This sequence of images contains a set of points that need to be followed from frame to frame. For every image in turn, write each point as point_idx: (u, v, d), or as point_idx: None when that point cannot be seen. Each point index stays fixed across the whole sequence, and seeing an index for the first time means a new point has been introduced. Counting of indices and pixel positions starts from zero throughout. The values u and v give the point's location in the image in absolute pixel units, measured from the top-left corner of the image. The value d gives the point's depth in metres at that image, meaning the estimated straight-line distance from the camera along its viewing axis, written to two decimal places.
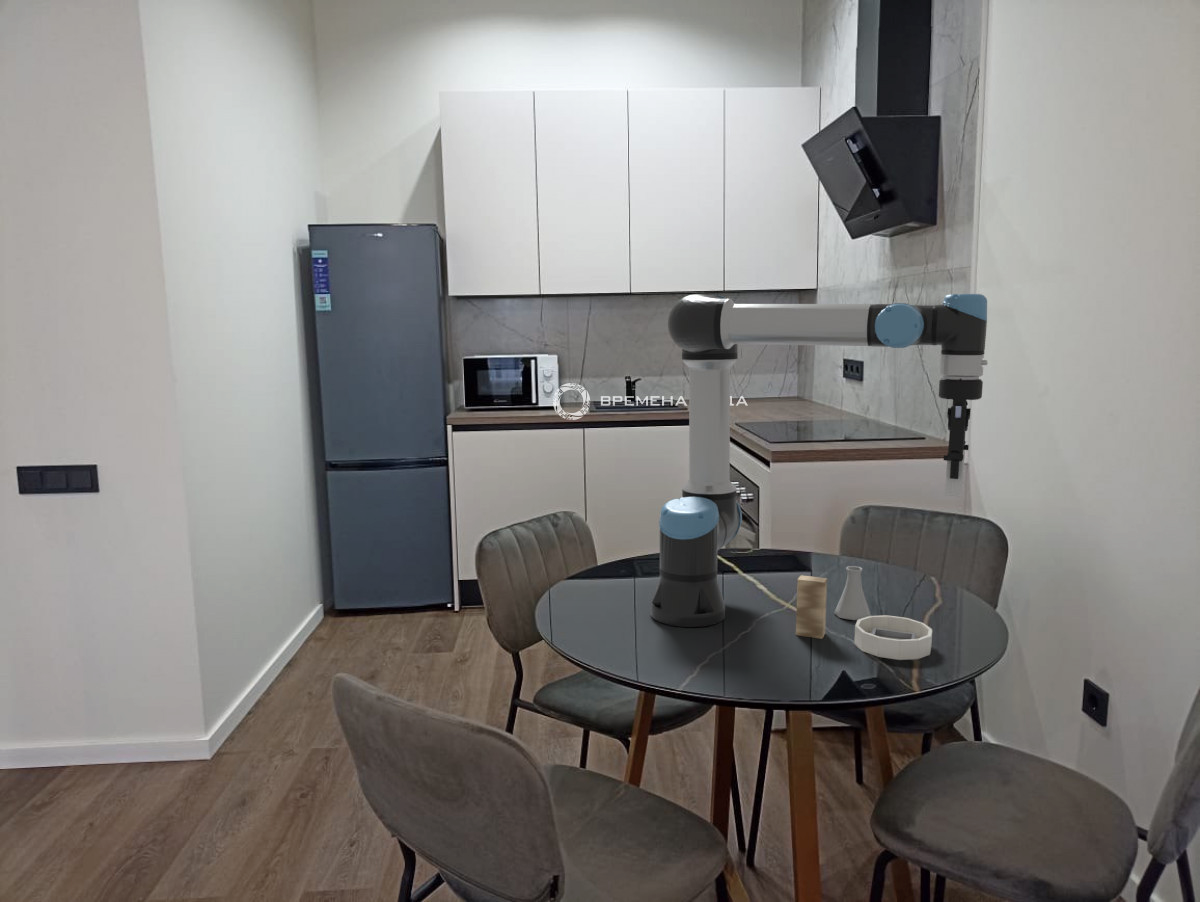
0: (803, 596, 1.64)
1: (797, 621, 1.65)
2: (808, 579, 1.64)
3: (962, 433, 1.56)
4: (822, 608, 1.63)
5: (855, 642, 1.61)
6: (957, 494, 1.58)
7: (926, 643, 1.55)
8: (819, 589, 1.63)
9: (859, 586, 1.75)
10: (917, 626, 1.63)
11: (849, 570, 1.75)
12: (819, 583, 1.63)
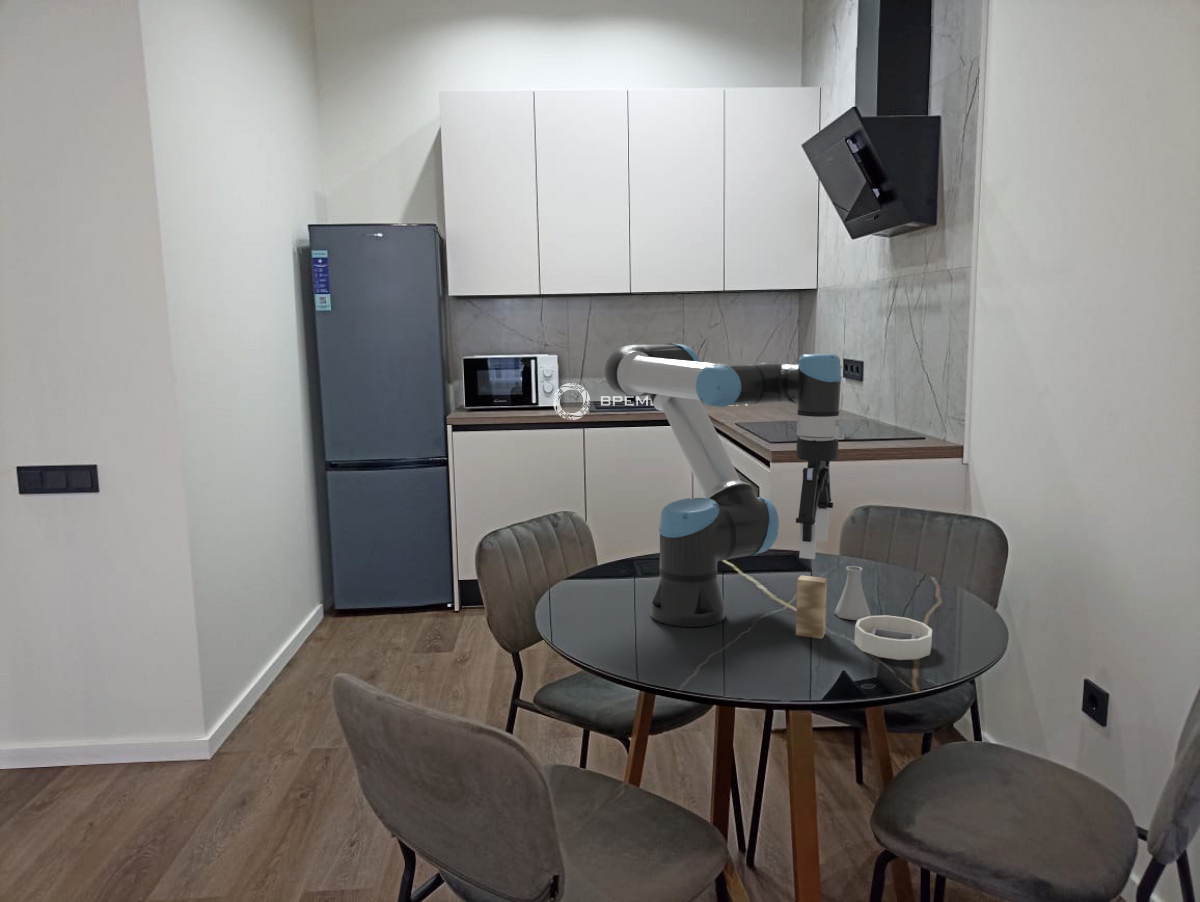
0: (803, 596, 1.64)
1: (797, 621, 1.65)
2: (808, 579, 1.64)
3: (813, 496, 1.54)
4: (822, 608, 1.63)
5: (855, 642, 1.61)
6: (811, 557, 1.57)
7: (926, 643, 1.55)
8: (819, 589, 1.63)
9: (859, 586, 1.75)
10: (917, 626, 1.63)
11: (849, 570, 1.75)
12: (819, 583, 1.63)
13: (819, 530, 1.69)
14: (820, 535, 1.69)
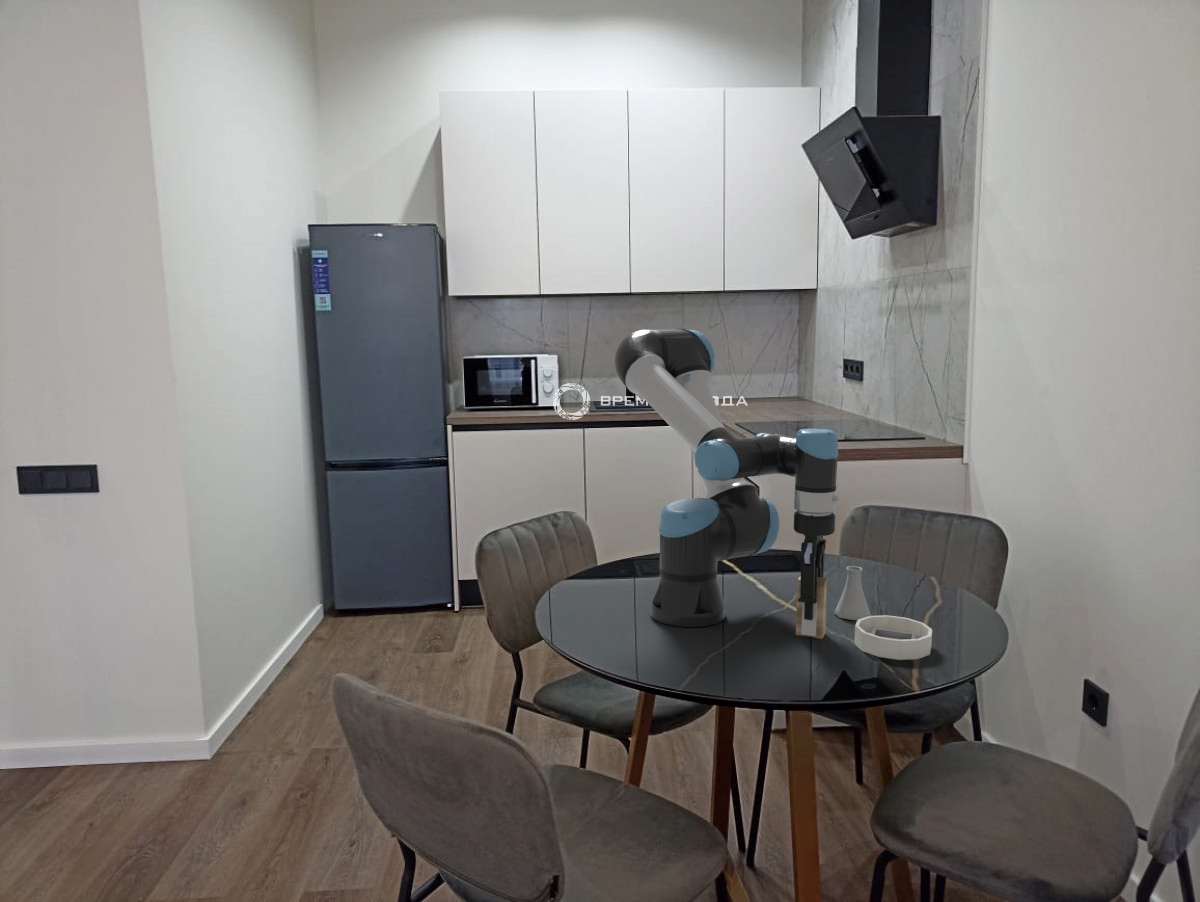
0: None
1: (797, 621, 1.65)
2: None
3: (812, 580, 1.59)
4: (822, 608, 1.63)
5: (855, 642, 1.61)
6: (812, 634, 1.64)
7: (926, 643, 1.55)
8: (819, 589, 1.63)
9: (859, 586, 1.75)
10: (917, 626, 1.63)
11: (849, 570, 1.75)
12: (819, 583, 1.63)
13: None
14: None
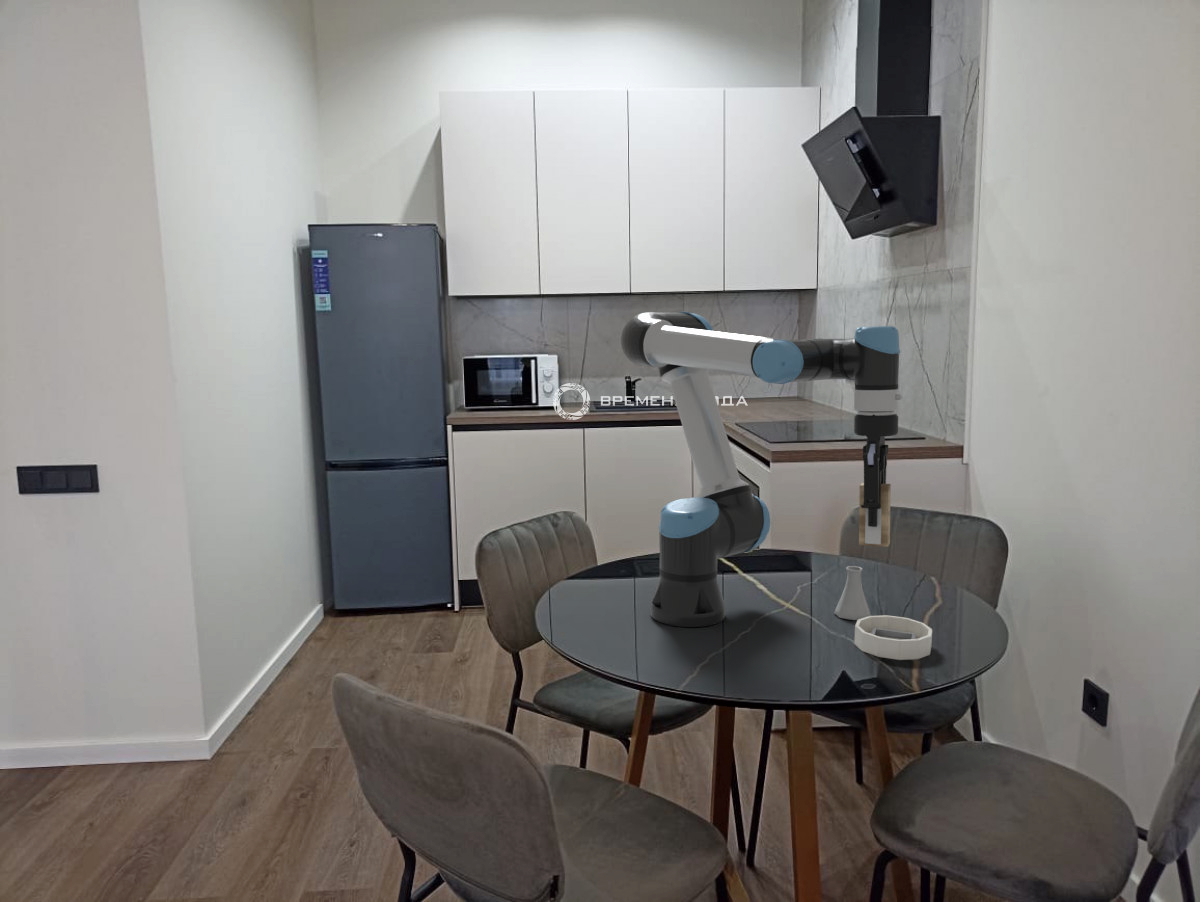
0: None
1: (860, 530, 1.58)
2: None
3: (876, 482, 1.52)
4: (887, 514, 1.55)
5: (855, 642, 1.61)
6: (877, 542, 1.56)
7: (926, 643, 1.55)
8: (883, 494, 1.55)
9: (859, 586, 1.75)
10: (917, 626, 1.63)
11: (849, 570, 1.75)
12: (883, 487, 1.55)
13: None
14: None
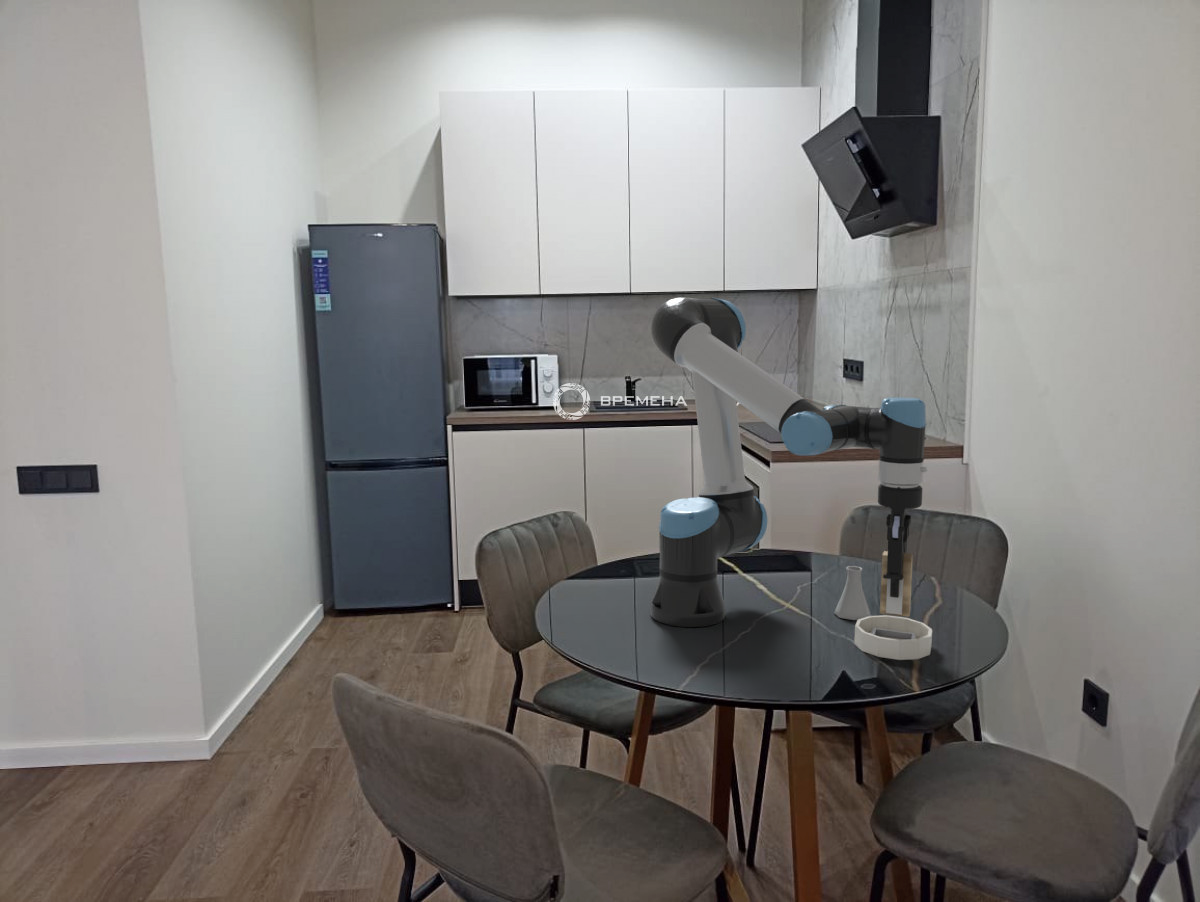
0: None
1: (881, 599, 1.58)
2: None
3: (900, 555, 1.52)
4: (909, 585, 1.56)
5: (855, 642, 1.61)
6: (898, 612, 1.57)
7: (926, 643, 1.55)
8: (906, 565, 1.56)
9: (859, 586, 1.75)
10: (917, 626, 1.63)
11: (849, 570, 1.75)
12: (905, 558, 1.56)
13: None
14: None
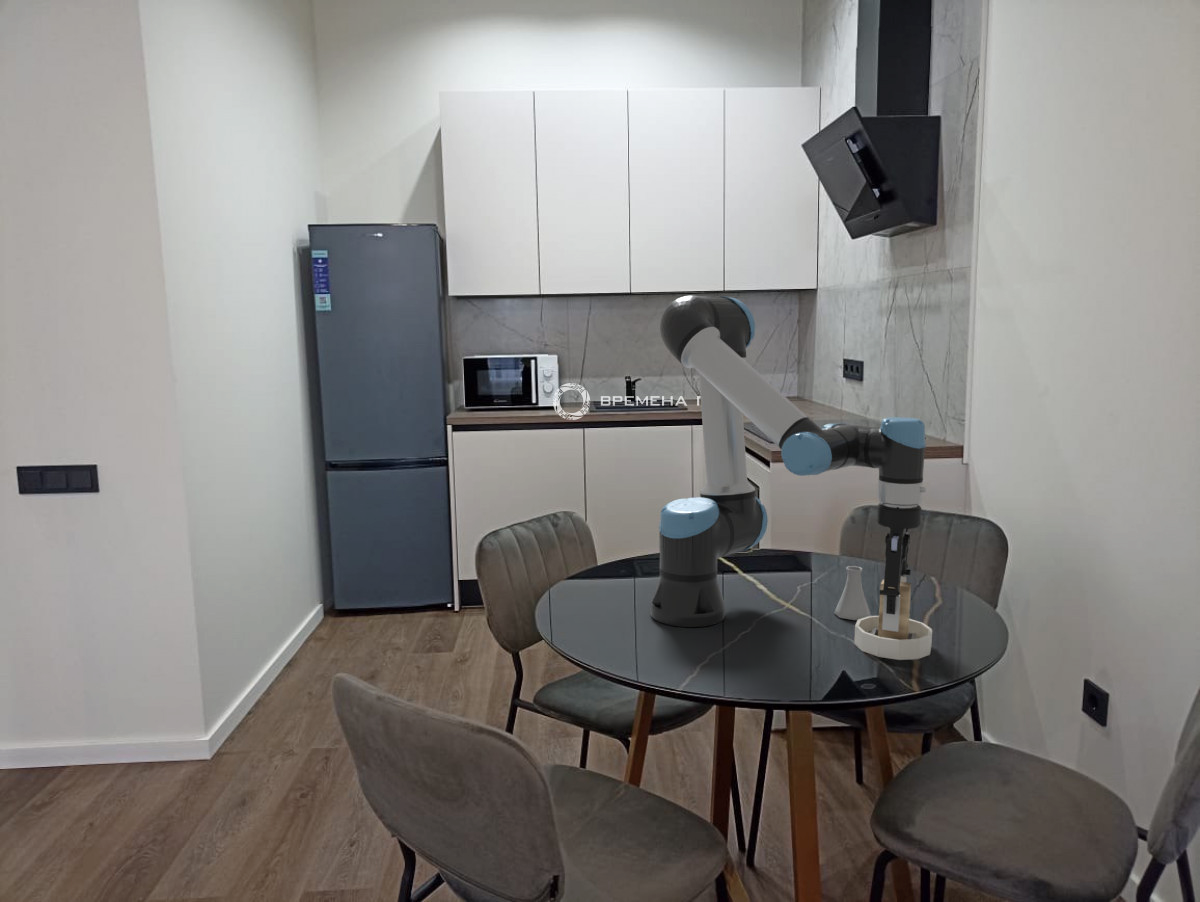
0: None
1: (879, 627, 1.59)
2: None
3: (898, 568, 1.50)
4: (907, 614, 1.57)
5: (855, 642, 1.61)
6: (895, 629, 1.53)
7: (926, 643, 1.55)
8: (904, 594, 1.57)
9: (859, 586, 1.75)
10: (917, 626, 1.63)
11: (849, 570, 1.75)
12: (904, 587, 1.57)
13: None
14: None
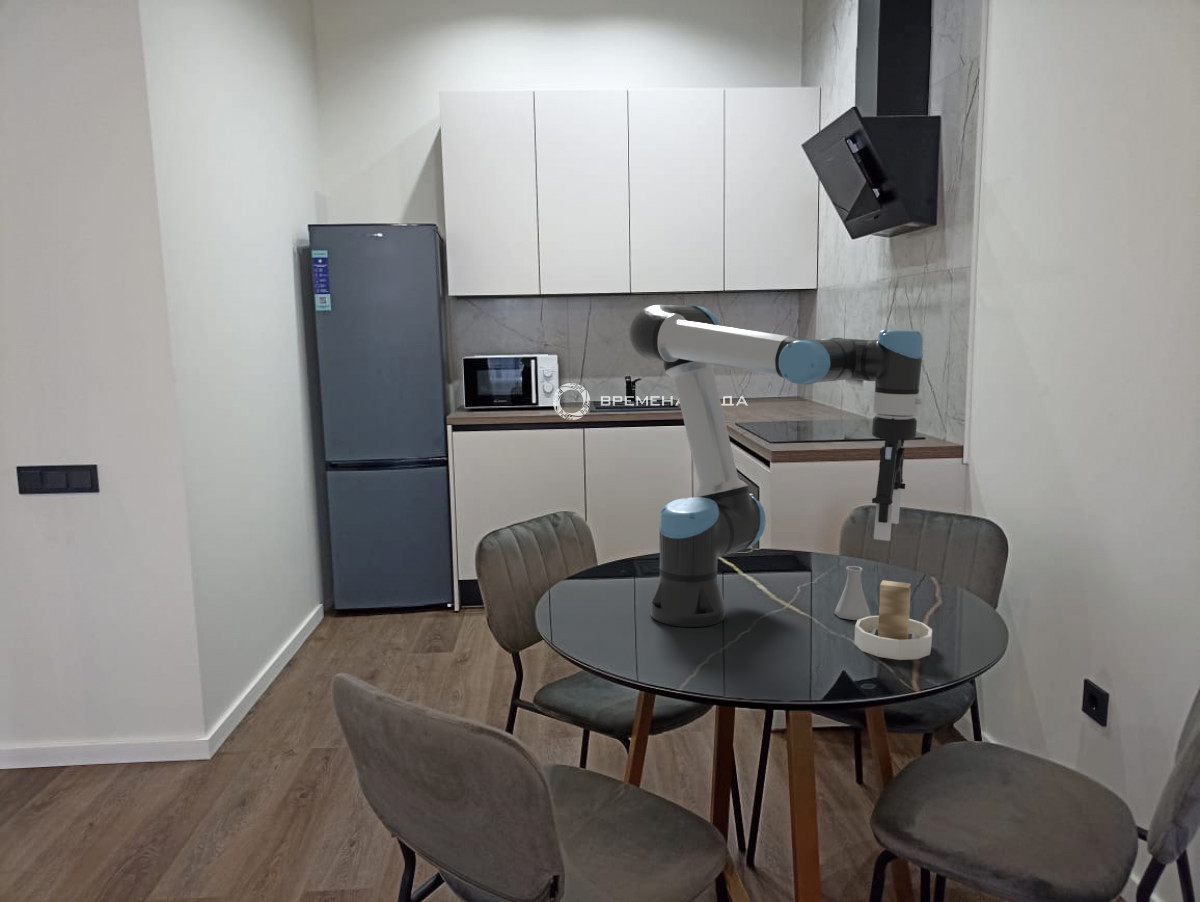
0: (886, 602, 1.58)
1: (879, 628, 1.59)
2: (891, 584, 1.58)
3: (891, 476, 1.50)
4: (906, 615, 1.57)
5: (855, 642, 1.61)
6: (886, 538, 1.53)
7: (926, 643, 1.55)
8: (903, 595, 1.57)
9: (859, 586, 1.75)
10: (917, 626, 1.63)
11: (849, 570, 1.75)
12: (903, 588, 1.56)
13: None
14: None
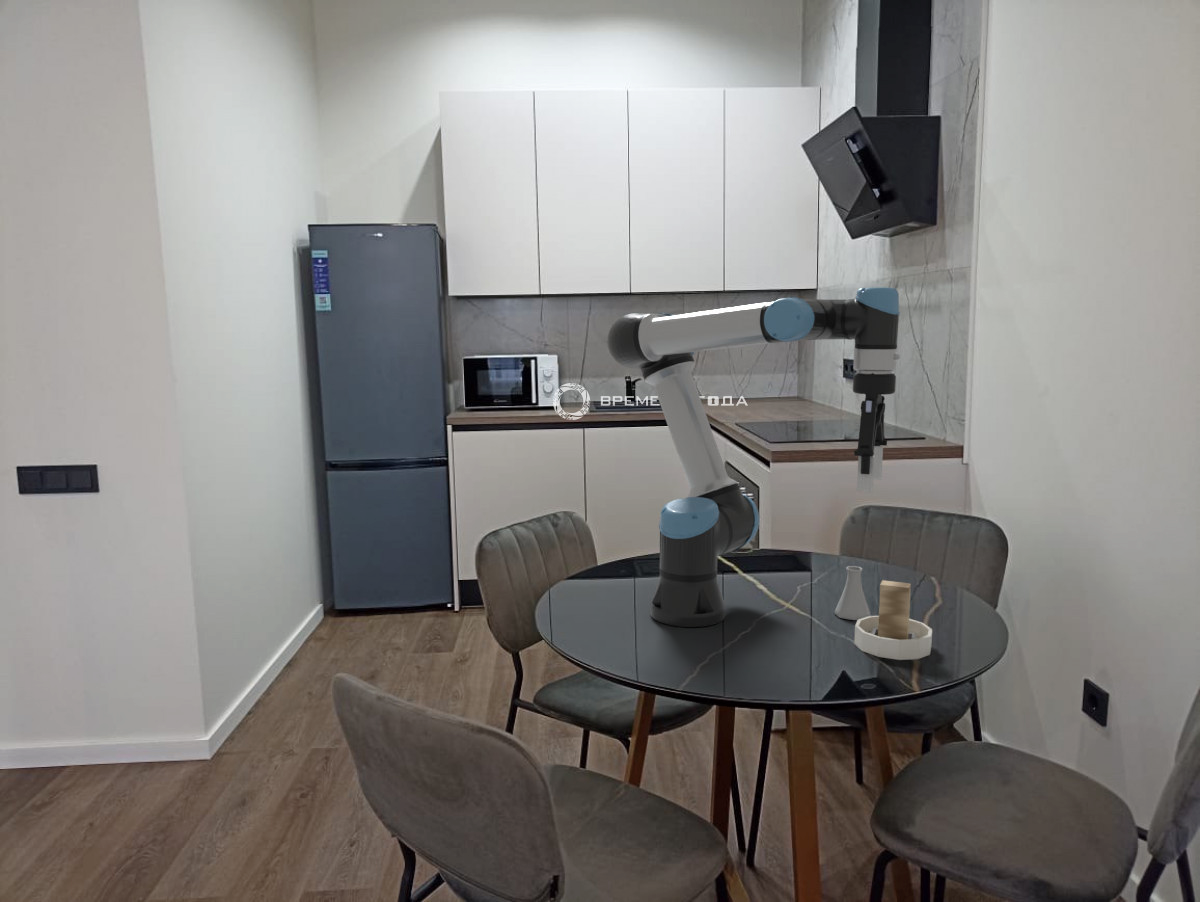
0: (886, 602, 1.58)
1: (879, 628, 1.59)
2: (891, 584, 1.58)
3: (872, 428, 1.54)
4: (906, 615, 1.57)
5: (855, 642, 1.61)
6: (869, 490, 1.57)
7: (926, 643, 1.55)
8: (903, 595, 1.57)
9: (859, 586, 1.75)
10: (917, 626, 1.63)
11: (849, 570, 1.75)
12: (903, 588, 1.56)
13: None
14: (873, 472, 1.69)
